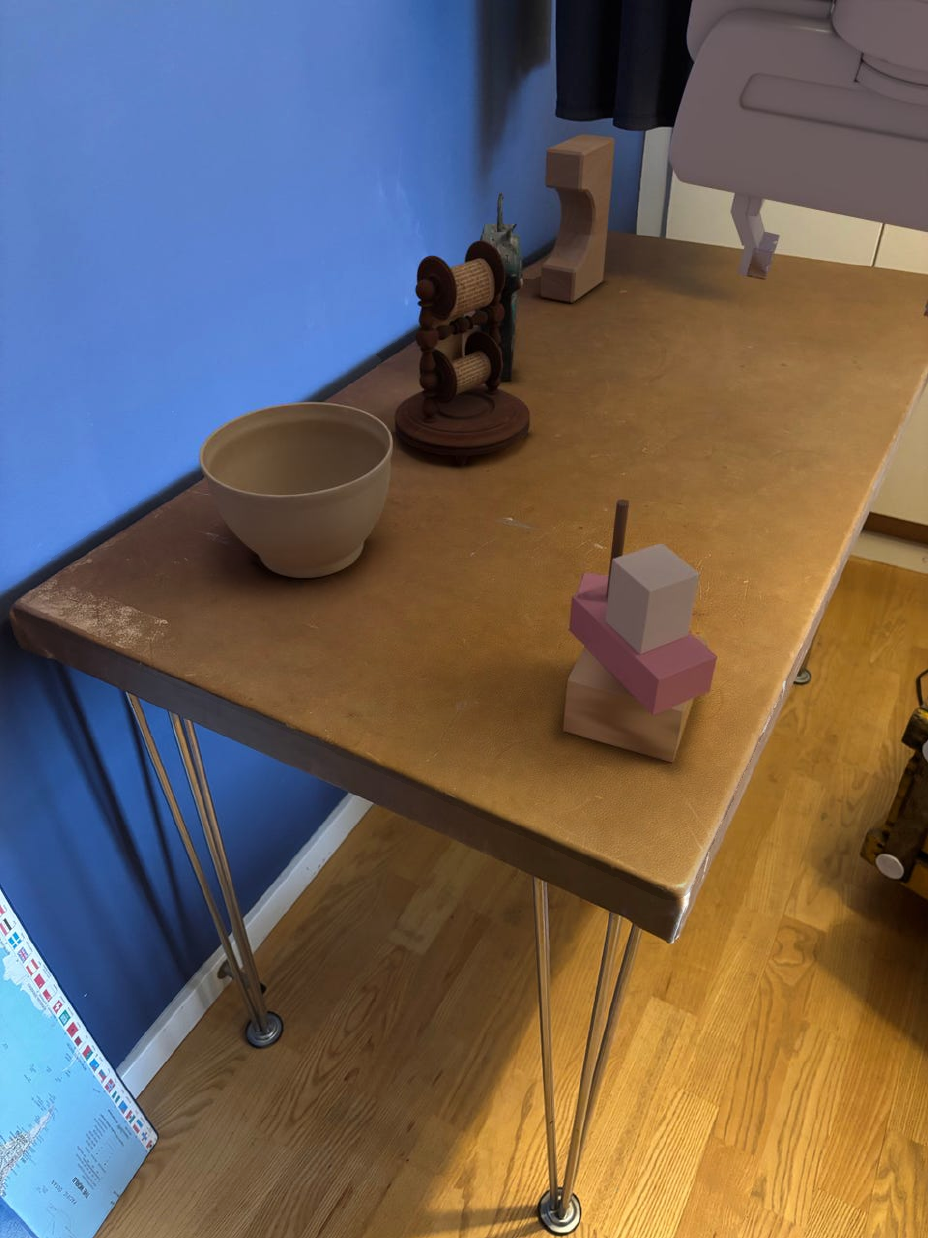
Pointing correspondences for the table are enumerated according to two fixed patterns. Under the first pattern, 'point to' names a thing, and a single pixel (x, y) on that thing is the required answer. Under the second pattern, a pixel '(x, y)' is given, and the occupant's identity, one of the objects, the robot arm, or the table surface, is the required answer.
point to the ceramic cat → (506, 284)
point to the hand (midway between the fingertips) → (844, 292)
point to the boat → (644, 623)
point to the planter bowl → (300, 483)
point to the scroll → (461, 361)
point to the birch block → (619, 712)
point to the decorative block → (578, 215)
